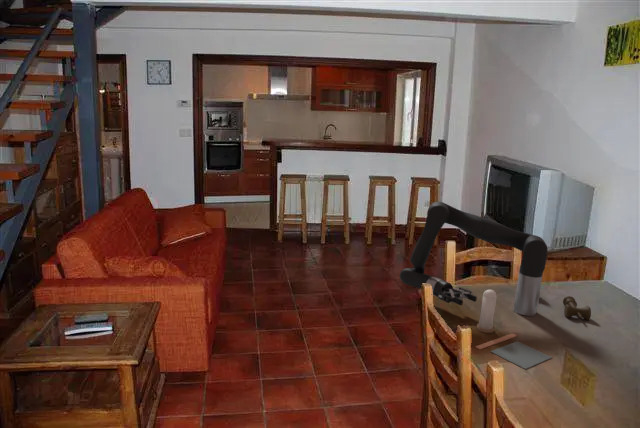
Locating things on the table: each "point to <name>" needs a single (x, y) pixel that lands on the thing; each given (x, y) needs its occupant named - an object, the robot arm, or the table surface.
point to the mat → (521, 355)
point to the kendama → (575, 309)
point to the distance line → (495, 341)
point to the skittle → (487, 312)
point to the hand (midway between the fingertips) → (469, 301)
